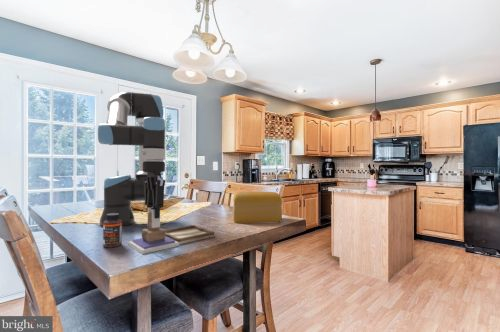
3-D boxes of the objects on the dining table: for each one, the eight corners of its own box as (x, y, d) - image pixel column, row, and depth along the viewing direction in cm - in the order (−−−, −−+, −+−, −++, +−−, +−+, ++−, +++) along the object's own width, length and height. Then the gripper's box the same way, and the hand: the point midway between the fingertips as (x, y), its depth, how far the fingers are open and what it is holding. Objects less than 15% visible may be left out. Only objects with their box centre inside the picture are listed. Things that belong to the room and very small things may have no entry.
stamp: (141, 240, 94) (142, 212, 94) (158, 237, 98) (158, 210, 98) (148, 243, 90) (148, 215, 90) (165, 240, 94) (165, 213, 94)
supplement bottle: (101, 249, 90) (102, 216, 89) (103, 244, 95) (103, 213, 95) (121, 246, 92) (121, 214, 92) (122, 242, 97) (122, 211, 97)
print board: (159, 235, 107) (159, 231, 107) (193, 229, 118) (193, 225, 118) (178, 244, 95) (178, 239, 95) (214, 236, 106) (214, 231, 106)
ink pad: (128, 244, 94) (128, 239, 94) (163, 238, 103) (163, 233, 103) (142, 254, 85) (142, 248, 85) (178, 245, 94) (178, 240, 94)
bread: (233, 223, 130) (233, 193, 130) (233, 218, 143) (233, 190, 143) (282, 222, 132) (282, 193, 132) (277, 217, 145) (277, 190, 145)
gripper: (135, 160, 97) (134, 224, 97) (152, 160, 85) (152, 232, 85) (154, 161, 102) (154, 221, 102) (174, 160, 90) (173, 228, 91)
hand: (153, 226), depth 94 cm, fingers closed on stamp, 3 cm apart
